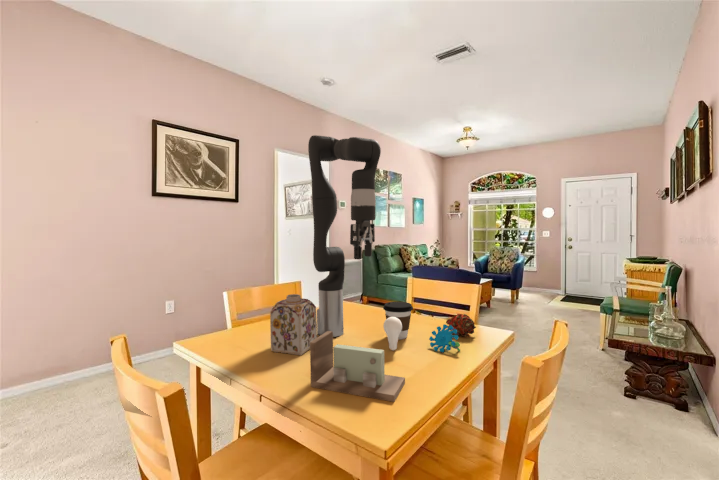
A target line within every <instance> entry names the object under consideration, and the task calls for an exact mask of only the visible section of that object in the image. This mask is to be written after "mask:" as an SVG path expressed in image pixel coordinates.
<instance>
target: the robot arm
mask: <svg viewBox="0 0 719 480" xmlns="http://www.w3.org/2000/svg"><path fill="white" fill-rule="evenodd" d="M307 145H308V148H307V150H308V160H309V167H310V168H309V169H310V176H311V177H310V178H311V196H312V197H311V198H312V199H311V200H312V201H311V203H312V214H313V216H312V217H313V218H312V219H313V251H312V252H313V253H312V254H313V255H312V256H313V259H312V261H313V264H314V268H315V270H316V271H317V272H318V273H325V272H329V273H328V275H327V276H326V277H325V278H323V279H321V280H320V281H319V282H318V309H317V308H316V321H317V336H318V335H319V336H321V335H322V334H324V333H325V332H327V331H333V338H335V337H336V338H337V337H341V336H342V335H344V282H345V266H346V264H345V262H346V261H345V259H346V258H345V254H344V250H343V249H342V247H340V246H327V241H328V240H327V239H328V233H329V231H330V229H331V227H332V224H333V223H334V220H335V219H336V217H337V215H338V214H337V213H338V201H337V200H338V197H337V194H336V191H335V189H334V187H333V186H332V184H331V183H330V181H329V180H328V178H327V177H326V175H325V173H324V170H323V167H322V162H333V161H338V160H342V161H349V162H356V163H357V162H358V163H365V165H364V167H363V168H362V169H356V170H354V171H352V173H351V195H350V220H351V221H355V223H351V224H350V231H349V234H350V238H349V243H350V246H351V245H352V247H353V259H354V260H362V258H363V256H362V255H363V253H362V252H363V248H362V245H363V243H364V257H368V258H369V257H370V258H371V257H372V256H373V255H372V254H373V252H372V251H373V250H372V249H373V246H372V245H373V244H374V243H375V241H376V235H375V232H376V229H375V226H376V225H375V223H371V221H375V220H376V203H377V202H376V190H375V188H376V186H375V185H376V184H375V183H376V180H375V179H376V178H375V177H376V172H377V169H378V165H379V160H380V157H381V152H382V148H381V145H380V143H379V142H378V141H377V140H376V139H375V138H374V139H373V138H365V137H357V136H355V137H354V136H351V137H349V138H342V139H337V138H335V137H333V136H326V135H316V134H314V135H311V136H310V138H309V139H308V144H307Z"/></svg>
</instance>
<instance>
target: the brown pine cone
mask: <svg viewBox="0 0 719 480" xmlns="http://www.w3.org/2000/svg"><path fill="white" fill-rule="evenodd" d="M445 321H446V322H445V325H447V326H448V327H449V326H450V325H451V326H452V327H453V328H454V329H456V330H457V334H455V333H454V335H458V336H459V335H461V336H463V337H468V335H473V334H475V329H476V328H477V327H476V326H475V321H474V320H473V318H471V317H470V316H469V315H468V314H467V313H456V315H455V316H452V317H450V318H448V319H446V320H445ZM448 327H447V328H446V329H448ZM454 329H452V330H454ZM452 330H449V331H452Z"/></svg>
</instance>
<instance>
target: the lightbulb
mask: <svg viewBox="0 0 719 480" xmlns="http://www.w3.org/2000/svg"><path fill="white" fill-rule="evenodd" d="M383 330H384V332H385V334H386V336H387V342H388V348H389V349H390V350H391V351H395V350H397V348H398V341H399V339H398V336H399V334H400V332H401V330H402V323H401V321H400V320H399V319H398V318H396V317H389V318H387V319H386V318H385V320H384V322H383Z"/></svg>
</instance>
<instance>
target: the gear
mask: <svg viewBox="0 0 719 480" xmlns="http://www.w3.org/2000/svg"><path fill="white" fill-rule="evenodd" d="M442 325H443V326H442V327H441V326H439V325H438V326H437V327H436V329H437V332H436V331H435V330H432V331H431V334H432V335H433V336H434V337H433V336H429V339H428V340H429V341H430V343H429V346H430V347H431V348H433V350H434V351H435V352H438V351H439V352H440V353H444V352H445V349H446V351H451V350H452V348H453V349H455V350H457V351H458V352H461V349H460V347H461V344H460V342H459V341H457V340H458V339H459V335H455V334H457V330H456V329H454V328H453V327H452V326H451V325H450V326H449V325H447V324H446V323H445V324H444V323H443V324H442ZM448 326H449V327H448ZM447 327H448V328H447ZM452 329H454V330H452ZM450 330H452V331H450ZM453 339H455V340H456V341H454V340H453Z"/></svg>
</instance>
